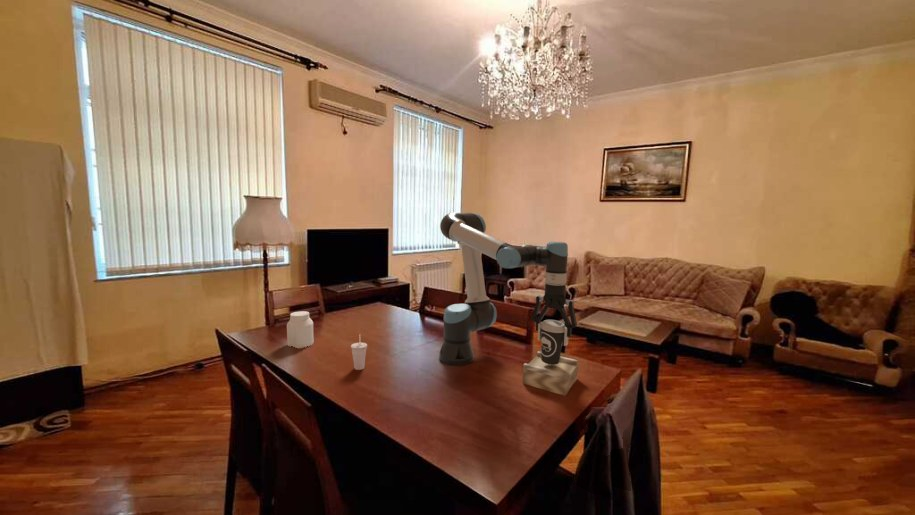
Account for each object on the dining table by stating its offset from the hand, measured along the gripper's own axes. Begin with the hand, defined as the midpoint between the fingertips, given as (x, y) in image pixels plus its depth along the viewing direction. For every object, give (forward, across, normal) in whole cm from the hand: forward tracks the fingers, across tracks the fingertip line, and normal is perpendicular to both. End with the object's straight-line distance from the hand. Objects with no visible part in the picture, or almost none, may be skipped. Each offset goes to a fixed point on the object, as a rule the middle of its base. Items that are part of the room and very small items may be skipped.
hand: (552, 342), depth 131 cm
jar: (+15, -111, -32) cm, 117 cm away
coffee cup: (+8, -1, 0) cm, 8 cm away
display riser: (+16, 0, 0) cm, 16 cm away
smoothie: (+16, -68, -34) cm, 78 cm away
